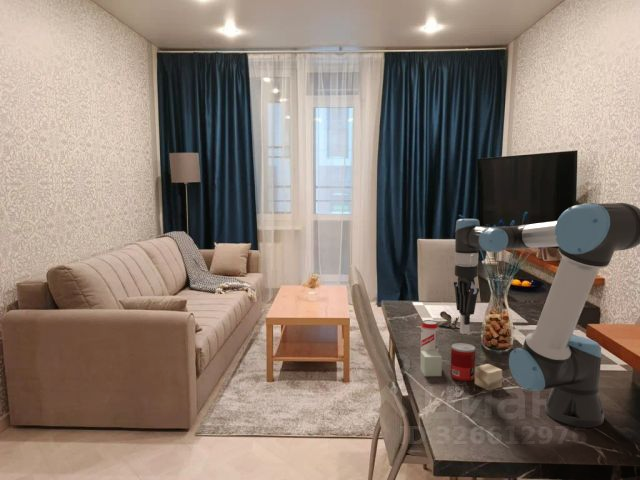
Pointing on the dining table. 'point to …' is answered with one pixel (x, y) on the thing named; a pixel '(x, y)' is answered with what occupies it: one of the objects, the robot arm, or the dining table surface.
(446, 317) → the snake figurine
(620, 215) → the robot arm
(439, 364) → the sage block
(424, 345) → the beer can
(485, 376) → the birch block
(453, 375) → the canned food
